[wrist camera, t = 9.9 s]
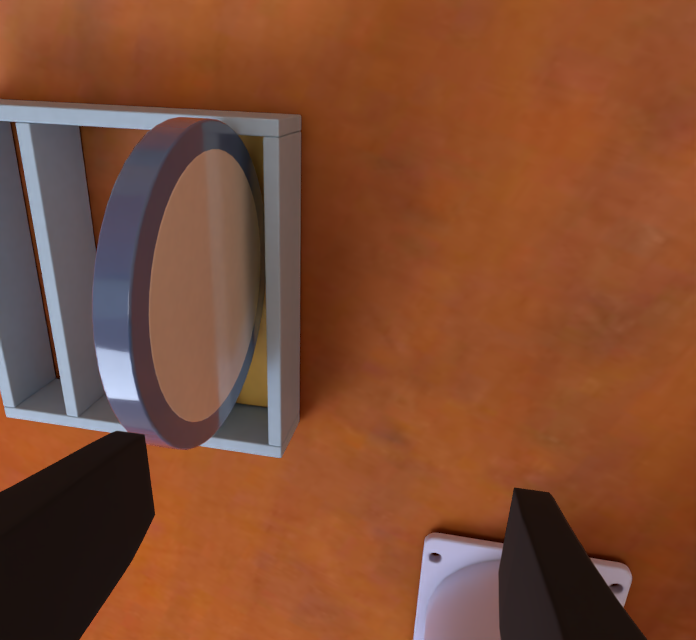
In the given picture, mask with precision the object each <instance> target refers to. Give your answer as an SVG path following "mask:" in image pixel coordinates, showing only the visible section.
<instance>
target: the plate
mask: <svg viewBox="0 0 696 640" xmlns="http://www.w3.org/2000/svg"><path fill="white" fill-rule="evenodd" d="M265 283H266V277H265V223H264V207H263V201H262V195H261V190H260V185H259V181H258V177H257V173H256V170H255V167H254V164H253V161H252V159H251V157H250V154H249V152H248V150H247V148H246V146H245V144H244V143H243V141H242V139H241V138H240V137H239V135H238V134H237V133H236V132H235V131H234V130H233V129H232V128H231V127H230V126H229V125H227V124H225V123H223V122H221V121H219V120H217V119H209V118H192V117H177V118H171V119H168V120H166V121H164V122H162V123H160V124H158V125H156V126H155V127H154V128H152V129H151V130H150V131H149V132H147V133H146V134H145V135H144V136H143V138H142V139H141V140H140V141H139V142H138V144H137V145H136V146H135V147H134V149H133V150H132V152H131V153H130V155H129V157H128V158H127V160H126V161H125V163H124V165H123V167H122V169H121V171H120V173H119V175H118V178H117V180H116V182H115V184H114V187H113V189H112V192H111V195H110V198H109V201H108V204H107V207H106V210H105V214H104V218H103V222H102V226H101V230H100V234H99V239H98V245H97V251H96V257H95V264H94V276H93V288H92V324H93V337H94V347H95V353H96V359H97V365H98V370H99V374H100V378H101V381H102V385H103V389H104V392H105V394H106V397H107V399H108V401H109V404H110V406H111V409H112V410H113V412H114V414H115V415H116V417H117V419H118V421H119V422H120V424H121V425H122V426H123V427H124V428H125V429H126V430H127V432H131V433H138V434H145V441H146V444H148V445H152V446H159V447H165V448H172V449H180V450H188V449H191V448H195V447H198V446H200V445H201V444H203V443H205V442H206V441H208V440H209V439H210V438H211V437H212V436H213V435H214V434H215V433H216V432H217V431H218V430H219V428H220V427H221V426H222V425H223V423H224V422H225V420H226V419H227V417H228V416H229V414H230V412H231V410H232V409H233V407H234V405H235V403H236V401H237V399H238V397H239V394H240V392H241V390H242V387H243V385H244V382H245V380H246V377H247V374H248V371H249V368H250V365H251V362H252V358H253V354H254V351H255V347H256V342H257V338H258V333H259V328H260V323H261V317H262V310H263V303H264V294H265Z"/></svg>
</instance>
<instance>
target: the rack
mask: <svg viewBox="0 0 696 640" xmlns="http://www.w3.org/2000/svg"><path fill="white" fill-rule="evenodd" d="M177 117H192V118H209V119H217V120H219V121H221V122H223V123H225V124H227V125H229V126H230V127H231V128H232V129H233V130H234V131H235V132H236V133H237V134H238V135H239V137H240V138H241V139H242V141H243V143H244V144H245V146H246V148H247V150H248V152H249V154H250V157H251V159H252V161H253V164H254V167H255V170H256V173H257V177H258V181H259V185H260V190H261V195H262V201H263V207H264V223H265V277H266V283H265V294H264V303H263V310H262V317H261V323H260V328H259V333H258V338H257V342H256V347H255V351H254V354H253V358H252V362H251V365H250V368H249V371H248V374H247V377H246V380H245V382H244V385H243V387H242V390H241V392H240V394H239V397H238V399H237V401H236V403H235V405H234V407H233V409H232V410H231V412H230V414H229V416H228V417H227V419H226V420H225V422H224V423H223V425H222V426H221V427H220V428H219V430H218V431H217V432H216V433H215V434H214V435H213V436H212V437H211V438H210V439H209V440H208V441H206V442H205V443H203V444H201V445H200V446H204V447H210V448H217V449H224V450H230V451H237V452H244V453H250V454H257V455H263V456H270V457H277V458H282V456H283V454H284V452H285V450H286V448H287V446H288V444H289V442H290V440H291V438H292V436H293V434H294V432H295V429H296V427H297V425H298V423H299V420H300V413H299V411H300V249H301V131H300V130H301V115H298V114H279V113H260V112H241V111H221V110H202V109H183V108H164V107H144V106H125V105H106V104H87V103H67V102H48V101H29V100H10V99H0V391H1V395H2V400H3V404H4V406H5V407H4V408H5V413H6V416H7V417H11V418H17V419H24V420H31V421H37V422H44V423H51V424H57V425H64V426H70V427H77V428H84V429H90V430H97V431H104V432H110V433H112V432H115V431H124V432H127V430H126V429H125V428H124V427H123V426H122V425H121V424H120V422H119V421H118V419H117V417H116V415H115V414H114V412H113V410H112V409H111V406H110V404H109V401H108V399H107V397H106V394H105V392H104V389H103V385H102V381H101V378H100V374H99V370H98V365H97V359H96V353H95V347H94V337H93V324H92V288H93V276H94V264H95V257H96V248H95V241H94V234H93V226H92V219H91V211H90V204H89V197H88V189H87V182H86V175H85V167H84V160H83V152H82V145H81V138H80V130H79V126H94V127H111V128H128V129H145V130H151V129H152V128H154V127H155V126H156V125H158V124H160V123H162V122H164V121H166V120H168V119H171V118H177ZM10 122H16V129H17V135H18V140H19V146H20V152H21V157H22V163H23V169H24V175H25V180H26V186H27V192H28V197H29V203H30V209H31V214H32V220H33V226H34V231H35V237H36V243H37V248H38V254H39V260H40V266H41V271H42V277H43V283H44V288H45V294H46V300H47V305H48V311H49V317H50V322H51V328H52V334H53V340H54V345H55V351H56V357H57V362H58V368H59V374H60V379H56V376H55V370H54V364H53V359H52V353H51V348H50V342H49V336H48V331H47V325H46V320H45V314H44V308H43V303H42V297H41V292H40V286H39V281H38V275H37V269H36V264H35V258H34V253H33V247H32V241H31V236H30V230H29V225H28V219H27V214H26V208H25V202H24V197H23V191H22V186H21V180H20V174H19V169H18V163H17V158H16V152H15V147H14V141H13V135H12V130H11V124H10ZM239 403H241V404H239ZM246 404H249V405H246ZM254 405H256V406H254ZM261 406H263V407H261Z"/></svg>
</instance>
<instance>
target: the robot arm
mask: <svg viewBox="0 0 696 640" xmlns="http://www.w3.org/2000/svg"><path fill="white" fill-rule="evenodd" d="M154 516H155V511H154V503H153V495H152V487H151V480H150V472H149V464H148V456H147V449H146V441H145V434H138V433H131V432H124V431H115V432H112V433H110V434H108V435H106V436H104V437H102V438H100V439H98V440H96V441H94V442H92V443H91V444H89V445H87V446H85V447H83V448H81V449H79V450H78V451H76V452H74V453H72V454H70V455H69V456H67V457H65V458H63V459H61V460H59V461H58V462H56V463H54V464H52V465H50V466H48V467H47V468H45V469H43V470H41V471H39V472H37V473H36V474H34V475H32V476H30V477H28V478H26V479H25V480H23V481H21V482H19V483H17V484H15V485H13V486H12V487H10V488H8V489H6V490H4V491H2V492H0V640H79V639H80V638H81V636H82V635H83V633H84V632H85V630H86V629H87V627H88V626H89V625H90V623H91V622H92V620H93V619H94V617H95V616H96V614H97V613H98V611H99V610H100V608H101V607H102V605H103V604H104V602H105V601H106V599H107V598H108V596H109V595H110V593H111V592H112V590H113V589H114V587H115V586H116V584H117V583H118V581H119V580H120V578H121V577H122V575H123V574H124V572H125V571H126V569H127V568H128V566H129V565H130V563H131V561H132V560H133V558H134V556H135V554H136V552H137V550H138V548H139V546H140V544H141V542H142V541H143V538H144V536H145V534H146V532H147V530H148V528H149V526H150V524H151V522H152V520H153V518H154ZM431 553H438V554H440V555H432V554H431ZM631 582H632V575H631V572H630V569H629V568H628V566H626V565H625V564H623V563H620V562H614V561H608V560H602V559H596V558H590V557H589V556H588V555H587V553H586V551H585V550H584V548H583V547H582V545H581V543H580V542H579V540H578V539H577V537H576V535H575V534H574V532H573V530H572V529H571V527H570V525H569V524H568V522H567V520H566V519H565V517H564V515H563V513H562V512H561V510H560V508H559V506H558V505H557V503H556V501H555V499H554V498H553V497H552V495H551V494H550V493H549V492H542V491H535V490H528V489H521V488H514V491H513V496H512V502H511V507H510V512H509V518H508V523H507V528H506V534H505V539H504V543H498V542H492V541H486V540H480V539H474V538H468V537H462V536H456V535H449V534H443V533H430V534H428V535H427V536H426V538H425V540H424V549H423V558H422V567H421V575H420V584H419V593H418V602H417V610H416V619H415V628H414V637H413V640H647V639H646V637H645V636H644V635H643V633H642V632H641V631H640V629H639V628H638V627H637V625H636V624H635V623H634V621H633V620H632V619H631V617H630V616H629V615H628V613H627V612H626V610H625V609H624V605H625V602H626V599H627V595H628V592H629V589H630V585H631ZM611 584H618V585H616V586H612V585H611Z"/></svg>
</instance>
